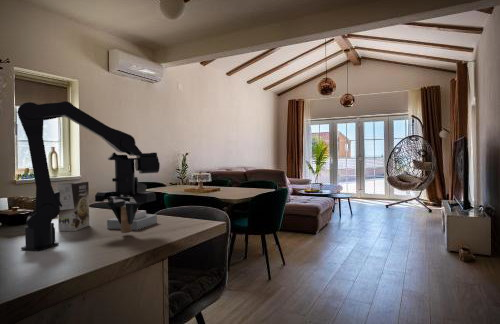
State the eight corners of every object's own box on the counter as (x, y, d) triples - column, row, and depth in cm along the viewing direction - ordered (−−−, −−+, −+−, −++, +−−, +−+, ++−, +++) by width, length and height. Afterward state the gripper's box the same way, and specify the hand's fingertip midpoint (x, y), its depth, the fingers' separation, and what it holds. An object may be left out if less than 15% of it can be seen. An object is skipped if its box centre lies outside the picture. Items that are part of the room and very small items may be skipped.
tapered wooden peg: (127, 233, 100) (126, 207, 100) (119, 232, 101) (118, 207, 101) (133, 231, 103) (132, 205, 103) (125, 230, 104) (124, 205, 104)
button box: (137, 230, 109) (136, 215, 109) (107, 228, 113) (106, 214, 113) (157, 222, 121) (156, 209, 121) (129, 221, 124) (129, 208, 124)
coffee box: (76, 231, 110) (75, 183, 109) (57, 231, 110) (56, 183, 109) (90, 225, 119) (89, 181, 118) (73, 225, 119) (71, 181, 118)
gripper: (165, 173, 107) (166, 220, 107) (117, 173, 112) (118, 218, 113) (144, 175, 96) (146, 227, 97) (93, 175, 102) (94, 224, 102)
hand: (126, 224), depth 102 cm, fingers closed on tapered wooden peg, 3 cm apart
